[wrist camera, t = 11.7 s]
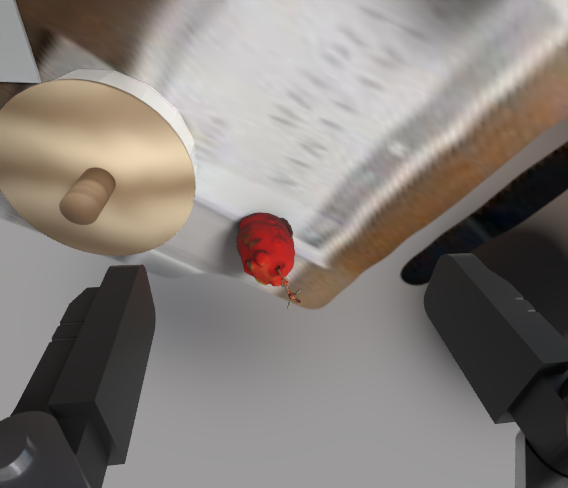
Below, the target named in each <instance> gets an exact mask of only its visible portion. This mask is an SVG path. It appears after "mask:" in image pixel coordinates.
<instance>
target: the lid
mask: <svg viewBox="0 0 568 488" xmlns="http://www.w3.org/2000/svg"><path fill="white" fill-rule="evenodd" d="M0 189H1V191H2V193H3V195H4V196H5V197H6V199H7V200H8V202H9V203H10V204H11V206H12V207H13V208H14V209H15V210H16V211H17V212H18V213H19V214H20V215H21V216H22V217H23V218H24V219H25V220H26V221H27V222H28V223H29V224H31V225H32V226H33V227H35V228H36V229H37V230H39V231H40V232H42V233H43V234H45V235H47V236H48V237H50V238H52V239H54V240H56V241H58V242H60V243H62V244H64V245H67V246H69V247H72V248H74V249H78V250H81V251H84V252H89V253H94V254H100V255H112V256H121V255H132V254H137V253H142V252H145V251H148V250H151V249H154V248H156V247H158V246H160V245H162V244H163V243H165V242H167V241H168V240H169V239H171V238H172V237H173V236H174V235H176V233H177V232H178V231H179V230H180V229H181V228H182V227H183V225H184V224H185V222H186V221H187V219H188V217H189V214H190V212H191V209H192V206H193V202H194V196H195V174H194V169H193V165H192V162H191V158H190V155H189V153H188V151H187V149H186V147H185V145H184V143H183V142H182V140H181V138H180V137H179V135H178V134H177V132H176V131H175V130H174V129H173V127H172V126H171V125H170V124H169V123H168V122H167V121H166V120H165V119H164V118H163V117H162V116H161V115H160V114H159V113H158V112H157V111H156V110H154V109H153V108H152V107H151V106H149V105H148V104H147V103H145V102H144V101H142V100H140V99H139V98H137V97H135V96H134V95H132V94H130V93H128V92H126V91H124V90H121V89H119V88H116V87H114V86H111V85H108V84H105V83H101V82H96V81H91V80H83V79H58V80H52V81H47V82H43V83H41V84H38V85H35V86H32V87H30V88H28V89H26V90H24V91H22V92H21V93H19V94H17V95H15V96H14V97H13V98H12V99H11V100H9V101H8V102H7V103H6V104H5V105H4V107H3V108H2V109H1V110H0Z"/></svg>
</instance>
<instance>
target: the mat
mask: <svg viewBox="0 0 568 488" xmlns="http://www.w3.org/2000/svg"><path fill="white" fill-rule="evenodd" d="M0 82H24V83H41V82H42V81H41V78H40V74H39V71H38V68H37V65H36V62H35V59H34V56H33V53H32V50H31V47H30V44H29V41H28V38H27V34H26V31H25V28H24V25H23V22H22V19H21V16H20V13H19V10H18V7H17V4H16V1H15V0H0Z"/></svg>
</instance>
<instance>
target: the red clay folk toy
mask: <svg viewBox="0 0 568 488" xmlns="http://www.w3.org/2000/svg"><path fill="white" fill-rule="evenodd" d="M239 227H240V231H239V233H238V235H237V249H238V252H239V255H240V256H241V259H242V263H243V266H244V271H245V272H246V273H247V274H249V275H252V276H253V277H255V279H256V280H257V281H258V282H259V283H261V284H264V285H267V284H272V286H280V285H282V287H286V290H287V292H288V295H289V298H290V301H289V303H288V307H287V308H289V305H290V303H291V301H292V300H294V301H296V302H298V303H300V304H301V300H298V299H296V298H295V295H296V294H297V293H298V292H299V291H301V289H300V290H298V291H297V292H296V293H295V294H293V293H292V292H291V291H290V289H289V288H288V284H289V283H288V279H287V278H286V276H287V275H288V273H289V272H290V271H291V269H292V268H293V265H294V256H295V250H294V242H293V239H292V235H293V231H292V228H291V226H290V225H289V223H288V221H287V220H285V219H284V218H278V217H277V216H274V215H272V214H269V213H254V214H253V215H252V216H249V217H248V216H247V217H245V218H243V219H242V220H241V222H240V223H239Z"/></svg>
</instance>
